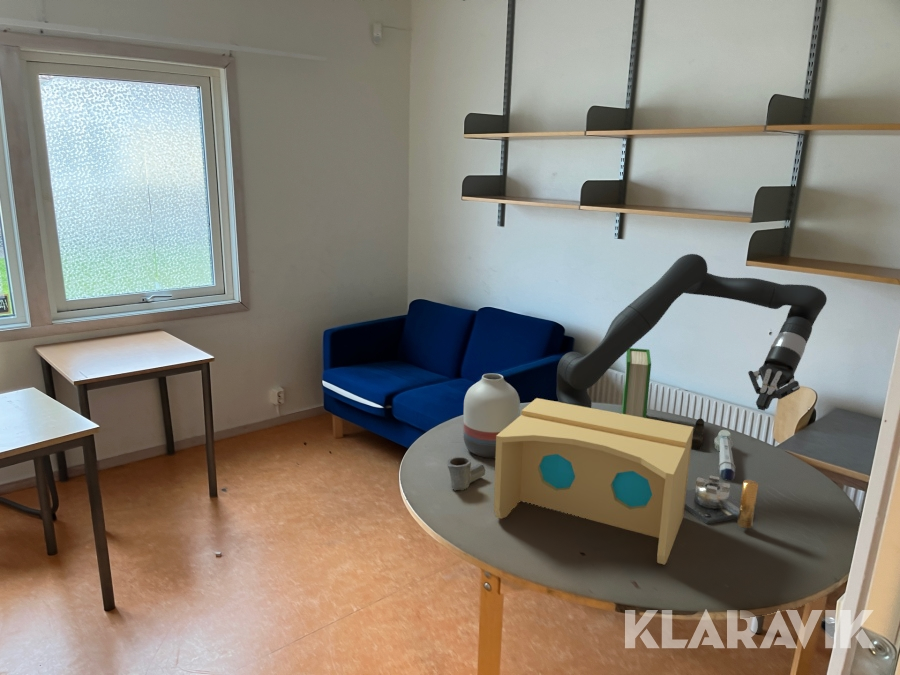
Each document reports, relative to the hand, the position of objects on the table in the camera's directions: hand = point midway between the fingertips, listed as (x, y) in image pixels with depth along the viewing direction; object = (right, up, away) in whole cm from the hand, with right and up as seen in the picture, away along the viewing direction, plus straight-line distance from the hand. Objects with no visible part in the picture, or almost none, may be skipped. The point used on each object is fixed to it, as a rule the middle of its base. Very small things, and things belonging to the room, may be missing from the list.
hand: (760, 408), depth 164 cm
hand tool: (+1, -15, +45) cm, 47 cm away
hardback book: (-16, -12, +57) cm, 61 cm away
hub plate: (-12, -26, +3) cm, 28 cm away
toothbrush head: (+3, -20, +28) cm, 35 cm away
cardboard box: (-44, -27, -5) cm, 52 cm away
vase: (-66, -17, +35) cm, 77 cm away
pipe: (-75, -22, +12) cm, 79 cm away
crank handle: (-10, -25, -2) cm, 27 cm away
